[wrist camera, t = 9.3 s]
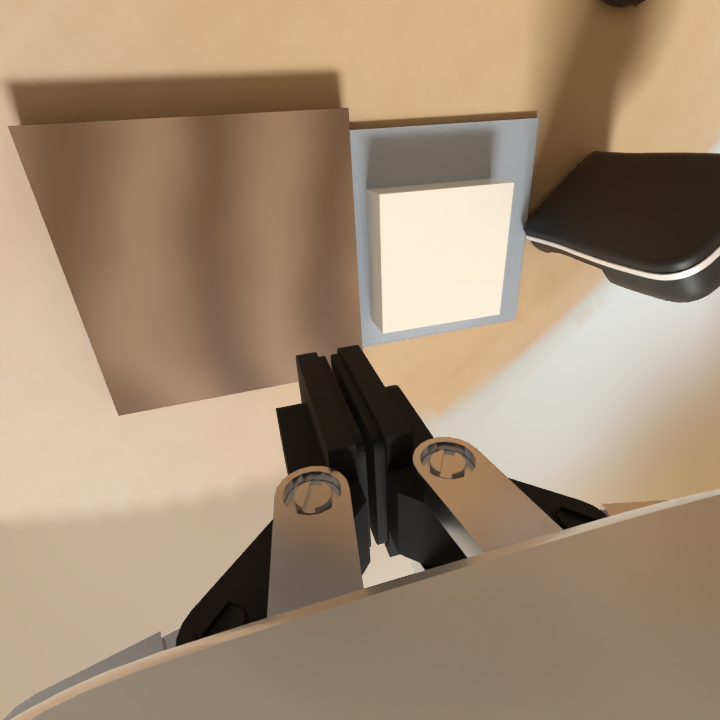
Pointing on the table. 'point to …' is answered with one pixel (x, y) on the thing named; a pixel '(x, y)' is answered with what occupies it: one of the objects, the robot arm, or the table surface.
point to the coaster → (437, 252)
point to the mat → (439, 165)
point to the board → (202, 246)
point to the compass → (624, 2)
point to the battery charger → (639, 221)
